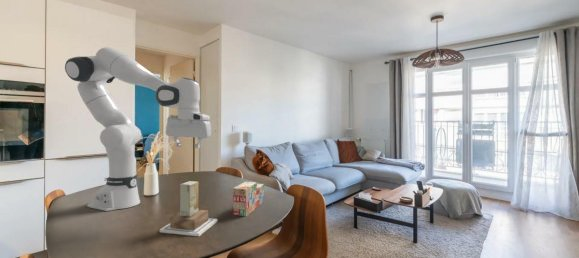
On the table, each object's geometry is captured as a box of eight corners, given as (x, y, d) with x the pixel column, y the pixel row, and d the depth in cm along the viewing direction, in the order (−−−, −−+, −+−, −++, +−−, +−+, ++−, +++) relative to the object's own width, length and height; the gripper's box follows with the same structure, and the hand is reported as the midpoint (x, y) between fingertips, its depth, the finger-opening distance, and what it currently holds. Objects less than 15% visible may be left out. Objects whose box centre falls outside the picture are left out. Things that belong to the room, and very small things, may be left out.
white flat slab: (159, 232, 96) (159, 229, 96) (182, 218, 109) (182, 215, 109) (199, 236, 92) (199, 233, 92) (217, 221, 106) (217, 218, 106)
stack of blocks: (252, 200, 134) (253, 177, 134) (264, 201, 132) (264, 178, 132) (232, 215, 114) (232, 187, 113) (245, 216, 112) (246, 188, 111)
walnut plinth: (170, 228, 97) (170, 217, 97) (186, 218, 107) (186, 208, 107) (194, 230, 95) (194, 219, 95) (208, 220, 105) (208, 210, 105)
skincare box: (189, 217, 97) (189, 185, 97) (179, 216, 98) (179, 184, 98) (199, 211, 103) (199, 181, 103) (189, 210, 104) (189, 180, 104)
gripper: (162, 114, 112) (162, 146, 112) (205, 116, 107) (204, 149, 108) (172, 115, 118) (171, 145, 118) (213, 116, 114) (212, 148, 114)
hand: (187, 147), depth 113 cm, fingers open, 8 cm apart
